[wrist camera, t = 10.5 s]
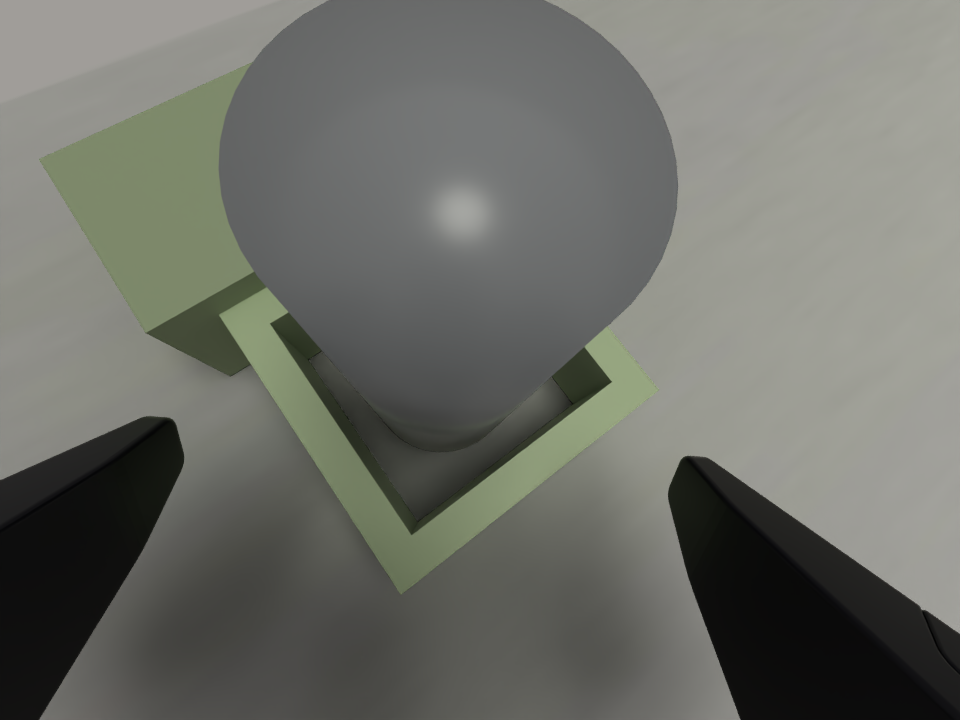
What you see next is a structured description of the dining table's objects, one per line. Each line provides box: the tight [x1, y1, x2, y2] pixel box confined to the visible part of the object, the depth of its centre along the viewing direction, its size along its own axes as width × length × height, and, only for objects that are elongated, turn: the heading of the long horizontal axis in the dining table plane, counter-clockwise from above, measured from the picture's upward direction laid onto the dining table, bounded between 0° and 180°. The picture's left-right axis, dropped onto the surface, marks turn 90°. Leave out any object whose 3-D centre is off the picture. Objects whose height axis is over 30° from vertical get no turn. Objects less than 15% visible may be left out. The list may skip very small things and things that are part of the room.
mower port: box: [39, 62, 659, 595], centre depth 15 cm, size 15×12×5 cm
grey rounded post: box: [218, 0, 678, 452], centre depth 11 cm, size 5×5×12 cm
